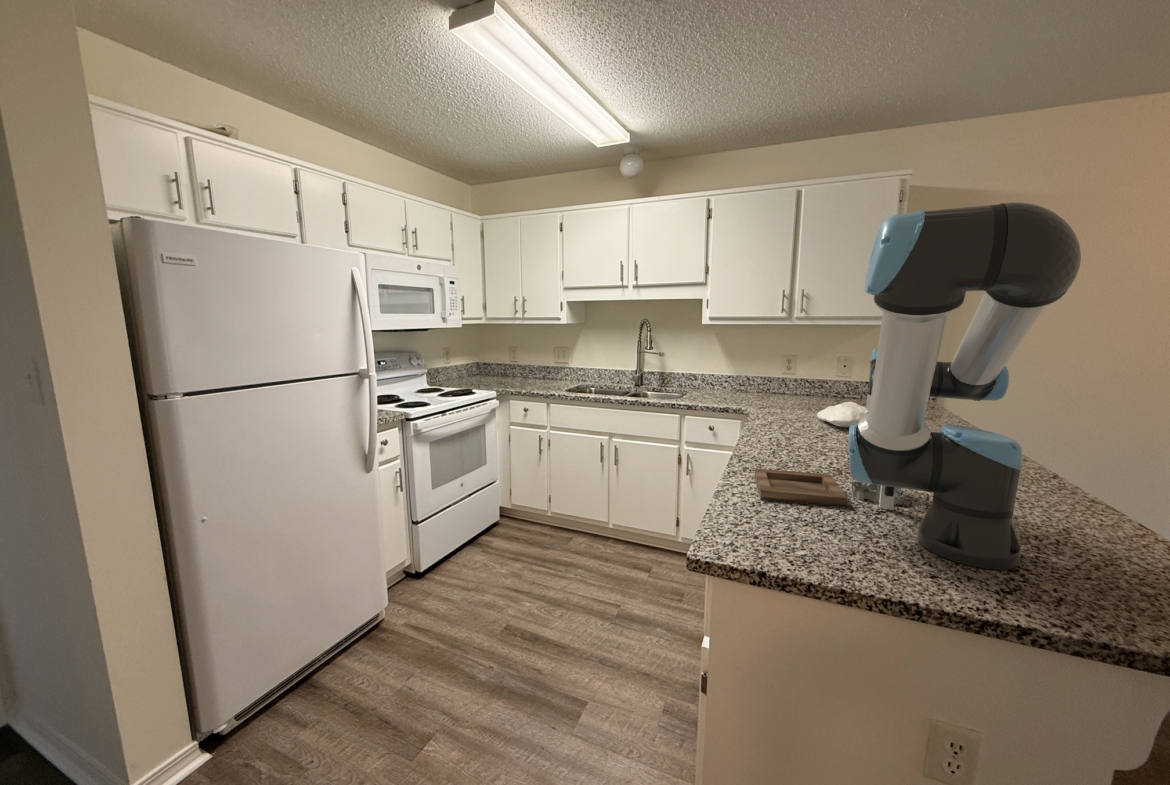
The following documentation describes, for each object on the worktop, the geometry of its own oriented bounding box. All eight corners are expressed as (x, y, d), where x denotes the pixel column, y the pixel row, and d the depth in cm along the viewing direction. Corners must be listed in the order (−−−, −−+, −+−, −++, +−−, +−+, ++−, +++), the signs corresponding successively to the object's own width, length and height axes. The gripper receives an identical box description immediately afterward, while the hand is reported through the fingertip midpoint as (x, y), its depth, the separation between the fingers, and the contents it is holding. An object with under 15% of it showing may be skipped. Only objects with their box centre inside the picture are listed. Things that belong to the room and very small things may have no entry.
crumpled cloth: (879, 417, 198) (878, 396, 198) (885, 433, 168) (882, 409, 168) (819, 419, 210) (817, 400, 210) (814, 435, 180) (812, 413, 180)
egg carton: (850, 500, 112) (851, 484, 111) (850, 490, 118) (851, 475, 118) (903, 508, 107) (904, 491, 106) (900, 497, 113) (901, 481, 112)
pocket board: (846, 508, 106) (847, 498, 106) (760, 499, 111) (761, 490, 111) (829, 483, 122) (830, 474, 122) (754, 477, 127) (755, 468, 127)
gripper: (925, 425, 96) (914, 520, 99) (883, 404, 119) (876, 481, 123) (885, 423, 98) (875, 516, 101) (852, 403, 121) (845, 478, 125)
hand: (875, 497), depth 112 cm, fingers open, 13 cm apart
